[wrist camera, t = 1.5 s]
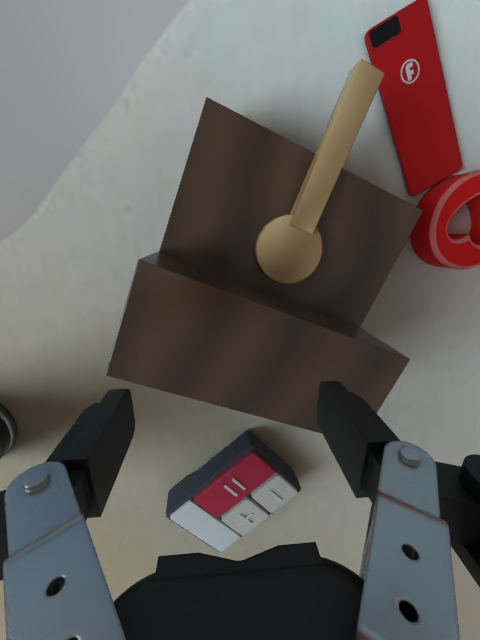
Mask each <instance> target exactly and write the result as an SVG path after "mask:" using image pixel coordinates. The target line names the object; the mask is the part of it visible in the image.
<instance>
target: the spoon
mask: <svg viewBox="0 0 480 640" xmlns="http://www.w3.org/2000/svg"><path fill="white" fill-rule="evenodd" d="M383 76H384V73H383V72H382V71H380V70H379V69H377V68H376V67H374V66H373V65H371V64H369V63H368V62H366V61H365V60H363V59H360V60H359V62H358V63H357V64H356V65H355V66H354V67H353V68H352V70H351V71H350V72H349V74H348V77H347V79H346V82H345V84H344V86H343V89H342V91H341V94H340V96H339V98H338V101H337V103H336V105H335V108H334V110H333V113H332V115H331V117H330V120H329V122H328V125H327V127H326V129H325V132H324V134H323V136H322V139H321V141H320V144H319V146H318V148H317V151H316V153H315V156H314V158H313V160H312V163H311V165H310V167H309V170H308V172H307V175H306V177H305V179H304V182H303V184H302V187H301V189H300V191H299V194H298V196H297V199H296V201H295V203H294V206H293V208H292V210H291V213H290V215H284V216H280V217H277V218H275V219H273V220H271V221H270V222H269V223H267V224H266V225H265V226H264V228H263V229H262V230H261V232H260V234H259V236H258V238H257V241H256V246H255V256H256V260H257V263H258V265H259V267H260V269H261V270H262V272H263V273H264V274H265V275H266V276H268V277H269V278H270V279H272V280H274V281H276V282H279V283H283V284H292V283H296V282H299V281H301V280H303V279H305V278H307V277H308V276H309V275H310V274H311V273H312V272H313V271H314V270H315V268H316V267H317V265H318V263H319V261H320V258H321V255H322V239H321V236H320V233H319V231H318V229H317V228H316V225H317V223H318V221H319V218H320V216H321V214H322V212H323V210H324V207H325V205H326V203H327V201H328V198H329V196H330V194H331V192H332V190H333V187H334V185H335V183H336V181H337V178H338V176H339V174H340V172H341V170H342V167H343V165H344V163H345V161H346V158H347V156H348V154H349V152H350V149H351V147H352V145H353V143H354V141H355V138H356V136H357V134H358V132H359V129H360V127H361V125H362V123H363V121H364V118H365V116H366V114H367V112H368V109H369V107H370V105H371V103H372V101H373V98H374V96H375V94H376V92H377V89H378V87H379V85H380V83H381V80H382V78H383Z"/></svg>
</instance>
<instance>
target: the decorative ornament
mask: <svg viewBox="0 0 480 640" xmlns="http://www.w3.org/2000/svg"><path fill="white" fill-rule="evenodd" d="M465 203H466V204H467V206H468V208H469V211H470V215H471V222H472V225H471V230H470V233H469V234H448V231H447V228H448V223H449V221H450V219H451V217H452V216H453V215H454V213H455V212H456V211H457V210H458V209H459V208H460V207H461V206H463V205H464V204H465ZM417 208H419V209H421V210H423V212H422V214H421V216H420V217H419V219H418V221H417V223H416V225H415V227H414V228H413V230H412V232H411V242H412V246H413V249H414V251H415V253H416V254H417V256H418V257H419V258H420V259H421V260H423V261H424V262H426V263H428V264H431V265H434V266H439V267H446V268H452V269H469V268H473V267H476V266H478V265H480V170H478V171H474V172H469V173H465V174H461V175H456V176H452V177H449V178H446V179H444V180H442V181H440V182H439V183H437V184H436V185H434V186H433V187H432V188H431V189H430V190H429V191H428V192H427V193H426V194H425V195H424V196H423V198H422V199H421V200H420V202H419V204H418V206H417Z"/></svg>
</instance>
